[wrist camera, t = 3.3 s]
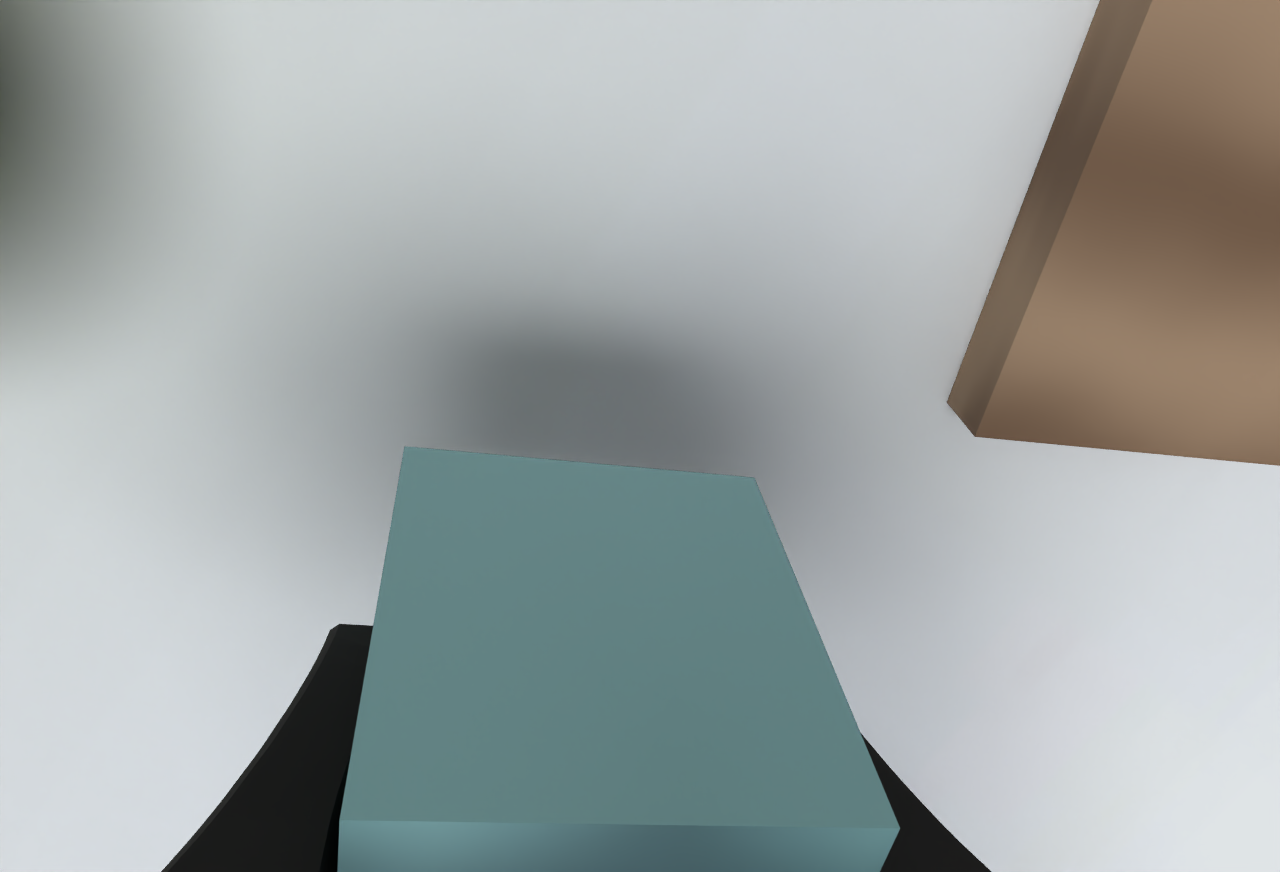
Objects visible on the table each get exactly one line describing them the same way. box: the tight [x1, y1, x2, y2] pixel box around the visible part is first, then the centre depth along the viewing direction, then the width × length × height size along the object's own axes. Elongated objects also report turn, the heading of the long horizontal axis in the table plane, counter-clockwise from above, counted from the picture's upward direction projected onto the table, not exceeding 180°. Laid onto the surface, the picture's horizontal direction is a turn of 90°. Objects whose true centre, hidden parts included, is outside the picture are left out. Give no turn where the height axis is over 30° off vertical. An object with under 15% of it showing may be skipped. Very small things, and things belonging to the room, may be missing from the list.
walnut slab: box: [947, 0, 1280, 466], centre depth 19 cm, size 10×8×2 cm
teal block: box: [337, 446, 900, 872], centre depth 12 cm, size 5×5×6 cm
